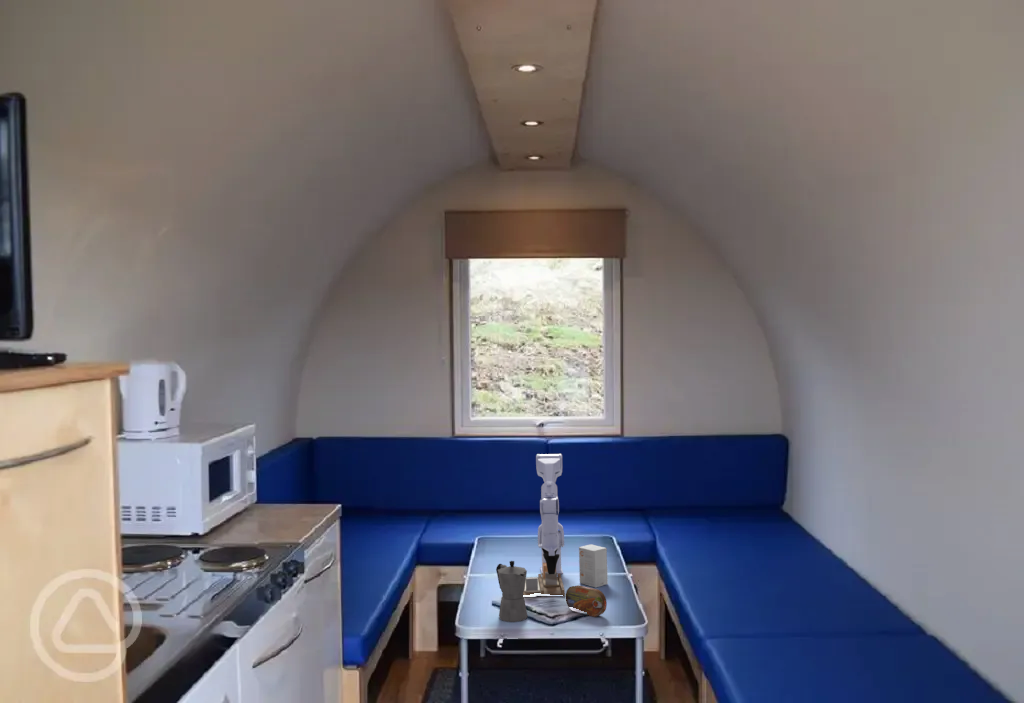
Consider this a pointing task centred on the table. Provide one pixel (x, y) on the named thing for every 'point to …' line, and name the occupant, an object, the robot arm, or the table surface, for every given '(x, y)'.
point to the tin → (586, 600)
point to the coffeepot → (512, 592)
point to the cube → (545, 569)
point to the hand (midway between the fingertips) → (550, 570)
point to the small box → (593, 565)
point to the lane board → (549, 590)
